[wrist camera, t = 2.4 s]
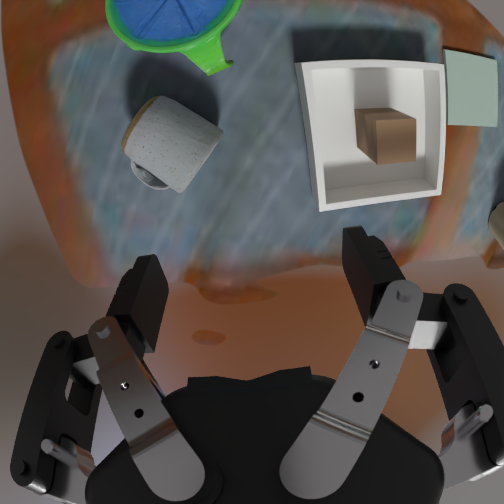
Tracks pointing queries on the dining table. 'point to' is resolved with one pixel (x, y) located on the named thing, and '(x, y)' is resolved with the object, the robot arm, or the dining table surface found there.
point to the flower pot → (497, 223)
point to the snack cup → (175, 27)
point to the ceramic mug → (168, 143)
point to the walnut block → (386, 135)
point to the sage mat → (470, 89)
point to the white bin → (344, 129)
